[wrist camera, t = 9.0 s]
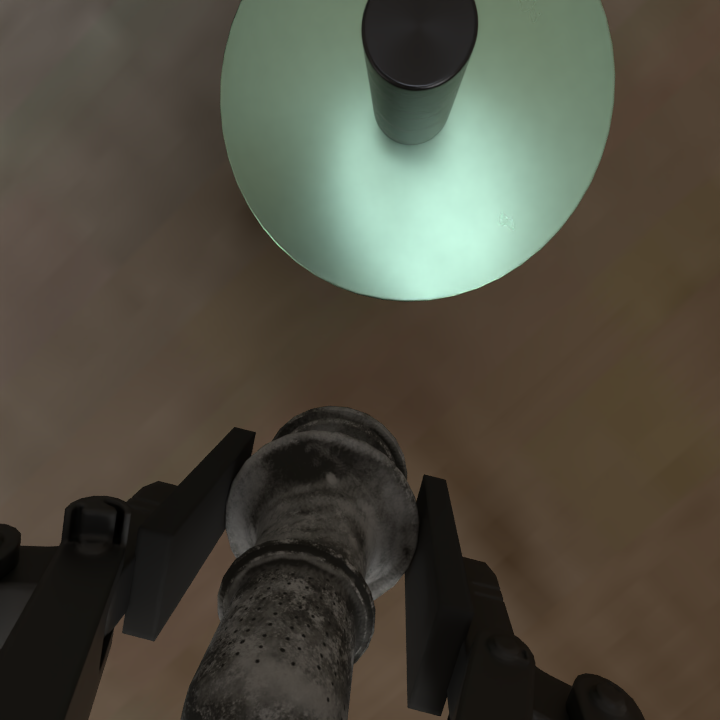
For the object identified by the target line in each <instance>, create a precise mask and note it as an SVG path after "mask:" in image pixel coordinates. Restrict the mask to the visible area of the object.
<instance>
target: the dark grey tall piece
mask: <svg viewBox="0 0 720 720" xmlns="http://www.w3.org/2000/svg"><path fill="white" fill-rule="evenodd" d="M419 523H420V522H419V516H418V511H417V506H416V500H415V496H414V494H413V492H412V490H411V488H410V486H409V484H408V482H407V469H406V464H405V459H404V454H403V452H402V451H401V449H400V447H399V445H398V443H397V441H396V439H395V437H394V436H393V435H392V434H391V433H390V432H389V431H388V430H387V428H386V427H385V426H384V425H383V424H382V423H380V422H378V421H377V420H375V419H374V418H372V417H371V416H369V415H368V414H366V413H363V412H360V411H357V410H354V409H352V408H349V407H337V406H326V407H320V408H314V409H310V410H308V411H306V412H303V413H301V414H299V415H297V416H295V417H293V418H292V419H291V420H290V421H289V422H287V423H286V424H285V425H284V426H283V427H282V428H280V430H279V431H278V433H277V434H276V436H275V437H274V439H273V440H272V442H270V443H268V444H266V445H264V446H263V447H262V448H260V449H259V450H258V451H257V452H256V453H255V454H253V455H252V456H251V457H250V458H249V459H248V460H246V462H245V463H244V465H243V466H242V468H241V469H240V471H239V472H238V474H237V475H236V477H235V478H234V480H233V481H232V484H231V487H230V491H229V494H228V497H227V501H226V507H225V528H226V532H227V535H228V539H229V543H230V546H231V550H232V552H233V553H234V555H235V557H236V560H234V562H233V563H232V565H231V566H230V568H229V569H228V571H227V572H226V574H225V575H224V577H223V579H222V582H221V586H220V589H219V592H218V615H219V619H220V624H219V626H218V628H217V630H216V632H215V634H214V636H213V638H212V640H211V643H210V645H209V647H208V649H207V651H206V653H205V655H204V657H203V659H202V661H201V663H200V665H199V667H198V669H197V671H196V673H195V675H194V678H193V680H192V682H191V684H190V686H189V689H188V692H187V696H186V699H185V702H184V707H183V711H182V716H181V720H347V718H348V709H349V700H350V691H351V682H352V672H353V664H354V663H356V662H357V661H358V659H359V658H360V657H361V656H362V654H363V653H364V652H365V651H366V649H367V648H368V646H369V643H370V640H371V638H372V635H373V633H374V625H375V606H374V602H373V600H375V599H377V598H378V597H379V596H381V595H382V594H383V593H385V592H386V591H388V590H389V589H390V588H392V587H393V586H394V585H395V584H396V583H397V581H398V580H399V579H400V578H401V576H402V575H403V574H404V573H405V571H406V570H407V569H408V568H409V565H410V563H411V560H412V558H413V555H414V553H415V550H416V547H417V543H418V533H419Z"/></svg>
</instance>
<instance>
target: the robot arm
mask: <svg viewBox="0 0 720 720" xmlns="http://www.w3.org/2000/svg"><path fill="white" fill-rule="evenodd" d="M255 434H256V432H252V431H248V430H244V429H240V428H236V427H234V428H233V429H232V430H231V431H230V432H229V433H228V434H227V435H226V436H225V437H224V439H223V440H222V441H221V442H220V443H219V444H218V445H217V446H216V447H215V448H214V449H213V450H212V451H211V452H210V453H209V454H208V455H207V456H206V457H205V458H204V459H203V460H202V461H201V462H200V464H199V465H198V466H197V467H196V468H195V469H194V470H193V471H192V472H191V473H190V474H189V475H188V476H187V477H186V478H185V479H184V480H183V481H182V482H181V483H180V484H179V485H178V486H176V485H172V484H168V483H164V482H160V481H157V482H155V483H152V484H150V485H147V486H145V487H142V488H141V489H140V490H139V491H138V492H137V493H136V494H135V495H134V496H133V497H132V499H131V498H130V499H129V500H128V501H127V502H125V501H123V500H121V499H118V498H114V497H109V496H91V497H86V498H81V499H79V500H77V501H74V502H72V503H71V504H70V505H69V506H68V507H66V508H65V515H64V523H63V531H62V540H61V544H60V545H59V546H52V547H41V546H20V543H21V533H20V532H19V531H18V530H17V529H16V528H14V527H12V526H9V525H6V524H0V720H88V718H89V715H90V712H91V709H92V705H93V702H94V699H95V696H96V693H97V689H98V686H99V683H100V680H101V676H102V673H103V670H104V667H105V664H106V660H107V657H108V654H109V651H110V647H111V644H112V637H113V631H114V627H115V626H116V624H117V623H118V622H119V620H120V619H121V618H122V617H123V615H124V614H125V618H124V625H123V631H122V633H124V634H128V635H132V636H136V637H139V638H143V639H147V640H151V641H155V639H156V638H157V636H158V635H159V633H160V632H161V630H162V628H163V627H164V625H165V624H166V622H167V620H168V619H169V617H170V616H171V614H172V613H173V611H174V609H175V608H176V606H177V605H178V603H179V602H180V600H181V598H182V597H183V595H184V594H185V592H186V590H187V589H188V587H189V586H190V584H191V583H192V581H193V579H194V578H195V576H196V575H197V573H198V572H199V570H200V568H201V567H202V565H203V564H204V562H205V560H206V559H207V557H208V556H209V554H210V553H211V551H212V549H213V548H214V546H215V545H216V543H217V542H218V540H219V538H220V537H221V535H222V534H223V532H224V530H225V529H226V528H225V507H226V501H227V497H228V494H229V491H230V487H231V484H232V481H233V480H234V478H235V477H236V475H237V474H238V472H239V471H240V469H241V468H242V466H243V465H244V463H245V462H246V460H248V459H249V458H250V457H251V454H252V449H253V444H254V439H255ZM416 506H417V511H418V516H419V522H420V523H419V533H418V543H417V547H416V550H415V553H414V555H413V558H412V560H411V563H410V565H409V568H408V569H407V570H406V571H405V605H406V653H407V700H408V708H411V709H414V710H418V711H422V712H426V713H430V714H433V715H437V716H441V714H442V711H443V708H444V705H445V702H446V698H448V707H449V716H448V719H447V720H645V719H644V717H643V715H642V713H641V711H640V709H639V708H638V706H637V705H636V703H635V701H634V700H633V699H632V698H631V697H630V696H629V695H628V694H627V693H626V692H625V691H624V690H623V689H622V688H620V687H619V686H618V685H616V684H614V683H613V682H611V681H610V680H608V679H605V678H603V677H601V676H598V675H594V674H587V673H585V674H582V675H578V676H577V678H576V679H575V681H574V683H573V686H570V685H568V684H566V683H564V682H562V681H560V680H558V679H556V678H554V677H552V676H550V675H549V674H547V673H545V672H543V671H542V670H540V669H539V668H538V667H536V666H535V660H534V655H533V654H532V652H531V651H530V649H529V648H528V646H527V645H526V644H525V643H524V642H522V641H521V640H520V639H519V638H518V637H516V636H515V635H514V633H513V629H512V626H511V623H510V620H509V616H508V613H507V610H506V607H505V603H504V602H503V597H502V594H501V591H500V587H499V584H498V581H497V577H496V575H495V574H494V573H493V571H492V570H491V569H490V568H489V567H488V565H487V564H486V563H485V562H481V561H477V560H473V559H469V558H465V557H462V553H461V549H460V544H459V539H458V535H457V530H456V525H455V520H454V516H453V511H452V506H451V502H450V497H449V492H448V488H447V483H446V480H444V479H440V478H436V477H432V476H428V475H424V476H423V480H422V484H421V487H420V491H419V494H418V498H417V501H416Z"/></svg>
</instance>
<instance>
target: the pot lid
mask: <svg viewBox="0 0 720 720" xmlns="http://www.w3.org/2000/svg"><path fill="white" fill-rule="evenodd" d="M614 89H615V67H614V55H613V45H612V40H611V36H610V31H609V26H608V22H607V17H606V15H605V12H604V9H603V6H602V3H601V1H600V0H241V2H240V5H239V7H238V10H237V12H236V15H235V17H234V20H233V23H232V25H231V29H230V33H229V37H228V40H227V44H226V48H225V52H224V59H223V66H222V73H221V88H220V110H221V120H222V130H223V137H224V141H225V146H226V150H227V155H228V159H229V162H230V165H231V168H232V170H233V173H234V176H235V179H236V182H237V184H238V186H239V188H240V190H241V192H242V194H243V196H244V198H245V200H246V202H247V204H248V206H249V208H250V209H251V211H252V212H253V214H254V216H255V217H256V219H257V220H258V222H259V223H260V225H261V226H262V228H263V229H264V230H265V231H266V232H267V233H268V235H269V236H270V237H271V238H272V239H273V240H274V242H275V243H276V244H277V245H278V246H279V247H280V248H281V249H282V250H283V251H284V252H286V253H287V254H288V255H289V256H290V257H291V258H292V259H293V260H294V261H295V262H297V263H298V264H300V265H301V266H303V267H304V268H305V269H307V270H308V271H310V272H311V273H313V274H314V275H315V276H317V277H319V278H321V279H323V280H325V281H327V282H329V283H331V284H333V285H335V286H337V287H339V288H342V289H345V290H348V291H350V292H353V293H356V294H359V295H363V296H368V297H372V298H377V299H381V300H392V301H404V302H409V301H430V300H436V299H441V298H447V297H452V296H456V295H459V294H463V293H466V292H469V291H472V290H475V289H478V288H480V287H482V286H484V285H487V284H489V283H491V282H493V281H495V280H498V279H500V278H501V277H503V276H505V275H506V274H508V273H509V272H511V271H513V270H514V269H516V268H517V267H519V266H521V265H522V264H523V263H525V262H526V261H527V260H528V259H529V258H531V257H532V256H533V255H534V254H536V253H537V252H538V251H539V250H541V249H542V248H543V247H544V246H545V245H546V244H547V243H548V242H549V241H550V239H551V238H552V237H553V236H554V235H555V234H556V233H557V232H558V231H559V230H560V229H561V228H562V226H563V225H564V224H565V222H566V221H567V220H568V218H569V217H570V216H571V214H572V213H573V212H574V211H575V209H576V208H577V206H578V204H579V203H580V201H581V199H582V198H583V196H584V194H585V192H586V191H587V189H588V187H589V186H590V184H591V181H592V179H593V177H594V174H595V172H596V170H597V167H598V165H599V163H600V160H601V158H602V154H603V151H604V148H605V144H606V141H607V138H608V134H609V130H610V124H611V118H612V112H613V106H614Z"/></svg>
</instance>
